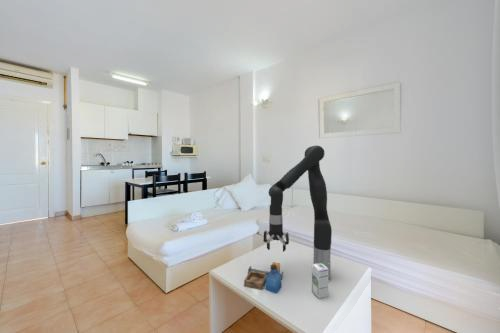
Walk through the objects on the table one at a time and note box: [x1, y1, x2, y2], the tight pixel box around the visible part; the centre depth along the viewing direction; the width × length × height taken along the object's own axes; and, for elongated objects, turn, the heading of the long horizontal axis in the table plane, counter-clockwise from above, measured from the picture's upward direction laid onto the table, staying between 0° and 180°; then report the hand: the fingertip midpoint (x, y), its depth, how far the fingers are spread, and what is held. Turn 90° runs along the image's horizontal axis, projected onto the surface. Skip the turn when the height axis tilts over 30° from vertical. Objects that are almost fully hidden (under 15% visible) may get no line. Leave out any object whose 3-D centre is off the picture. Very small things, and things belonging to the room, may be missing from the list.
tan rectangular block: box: [265, 261, 281, 274], centre depth 120 cm, size 8×4×6 cm, turn 72°
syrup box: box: [311, 263, 329, 299], centre depth 104 cm, size 6×6×14 cm
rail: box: [247, 265, 284, 281], centre depth 121 cm, size 20×4×2 cm, turn 72°
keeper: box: [243, 271, 267, 291], centre depth 113 cm, size 10×10×3 cm
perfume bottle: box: [264, 264, 282, 294], centre depth 108 cm, size 6×6×12 cm
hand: (276, 250), depth 118 cm, fingers open, 8 cm apart
